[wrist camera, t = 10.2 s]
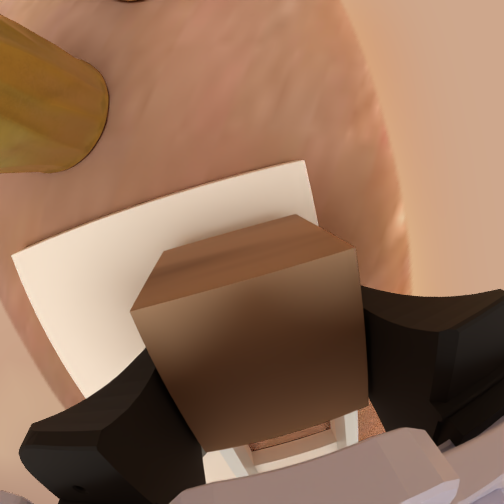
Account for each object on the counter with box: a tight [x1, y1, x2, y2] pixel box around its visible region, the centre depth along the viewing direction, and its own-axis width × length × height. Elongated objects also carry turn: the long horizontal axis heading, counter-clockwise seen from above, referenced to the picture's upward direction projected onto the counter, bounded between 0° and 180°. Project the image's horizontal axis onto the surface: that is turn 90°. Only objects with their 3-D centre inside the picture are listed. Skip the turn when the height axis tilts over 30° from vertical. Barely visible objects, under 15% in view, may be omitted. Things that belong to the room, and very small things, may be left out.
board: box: [11, 160, 338, 484], centre depth 17 cm, size 23×16×2 cm
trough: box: [219, 410, 358, 478], centre depth 16 cm, size 14×8×2 cm, turn 14°
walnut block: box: [130, 214, 369, 453], centre depth 9 cm, size 5×5×5 cm
